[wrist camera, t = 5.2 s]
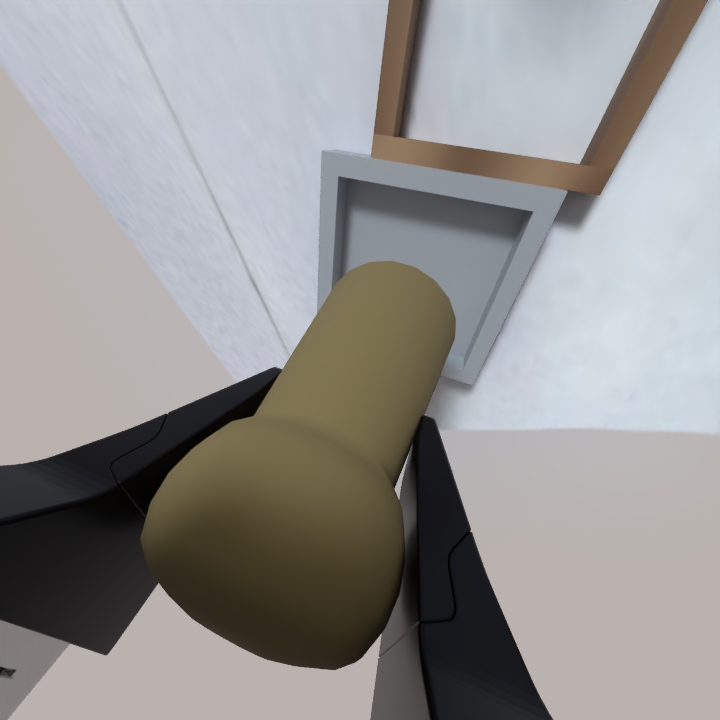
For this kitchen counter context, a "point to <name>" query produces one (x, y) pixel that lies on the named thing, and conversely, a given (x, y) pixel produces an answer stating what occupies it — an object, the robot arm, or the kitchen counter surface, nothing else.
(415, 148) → the wooden picture frame
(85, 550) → the robot arm
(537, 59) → the kitchen counter surface
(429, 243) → the tray
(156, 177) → the kitchen counter surface
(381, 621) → the cork
